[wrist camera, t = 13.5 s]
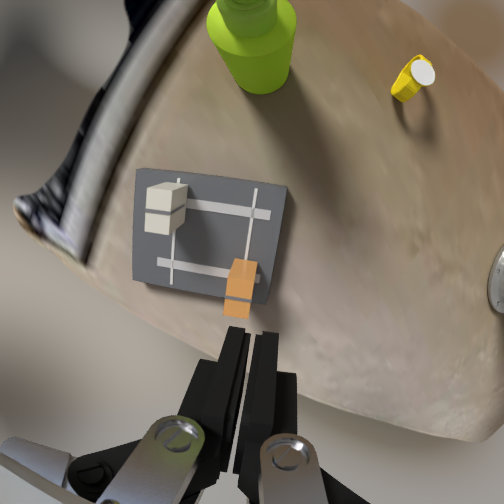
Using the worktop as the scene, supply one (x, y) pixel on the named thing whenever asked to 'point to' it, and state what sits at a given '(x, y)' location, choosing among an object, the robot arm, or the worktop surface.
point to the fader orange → (240, 288)
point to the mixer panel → (209, 233)
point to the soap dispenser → (254, 41)
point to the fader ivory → (165, 207)
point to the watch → (413, 78)
